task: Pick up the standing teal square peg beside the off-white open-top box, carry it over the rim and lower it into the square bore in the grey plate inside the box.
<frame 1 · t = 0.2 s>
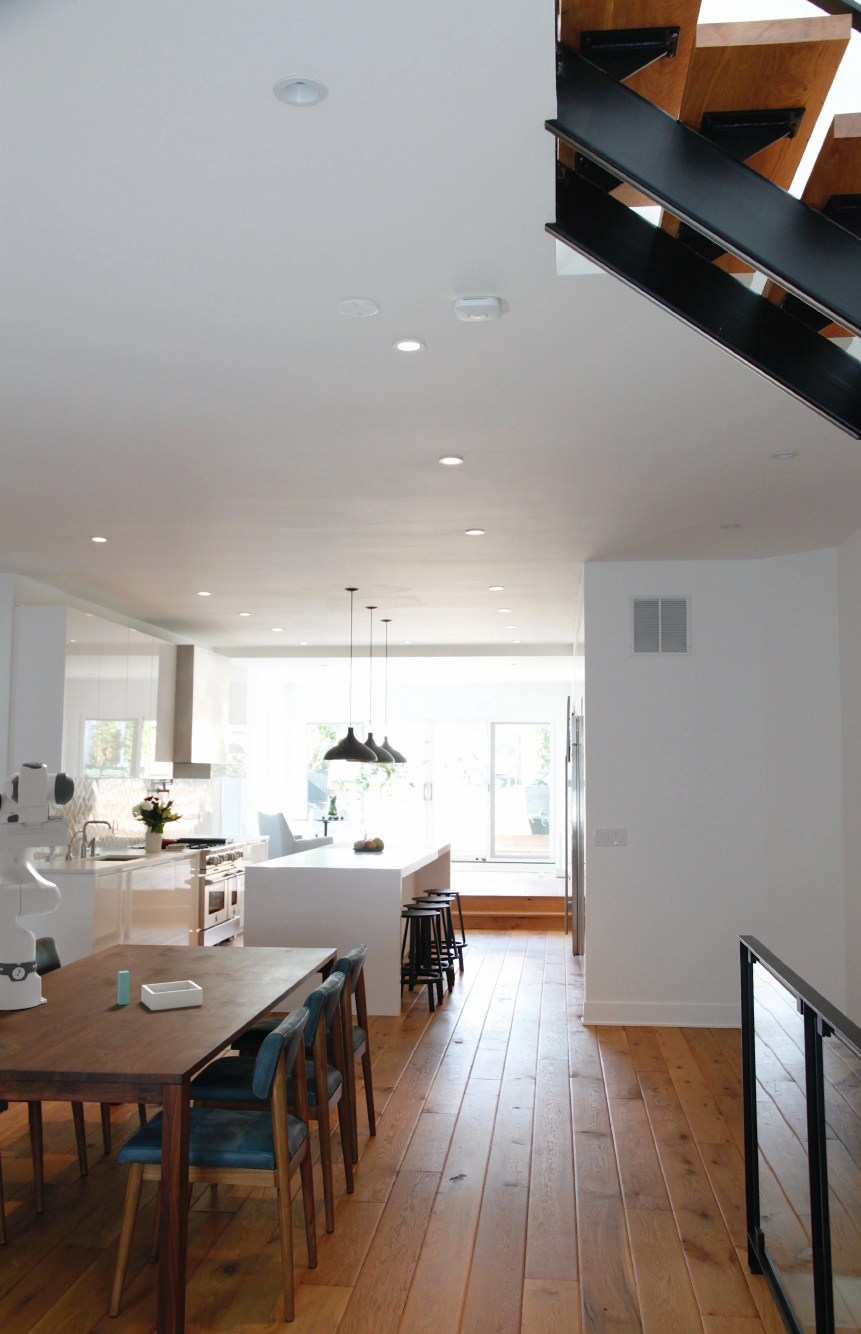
hand: (31, 862, 312), 47 cm above the table, tool pointing down, fingers open, 8 cm apart
box: (171, 1002, 334), on the table
peg: (123, 1003, 334), on the table
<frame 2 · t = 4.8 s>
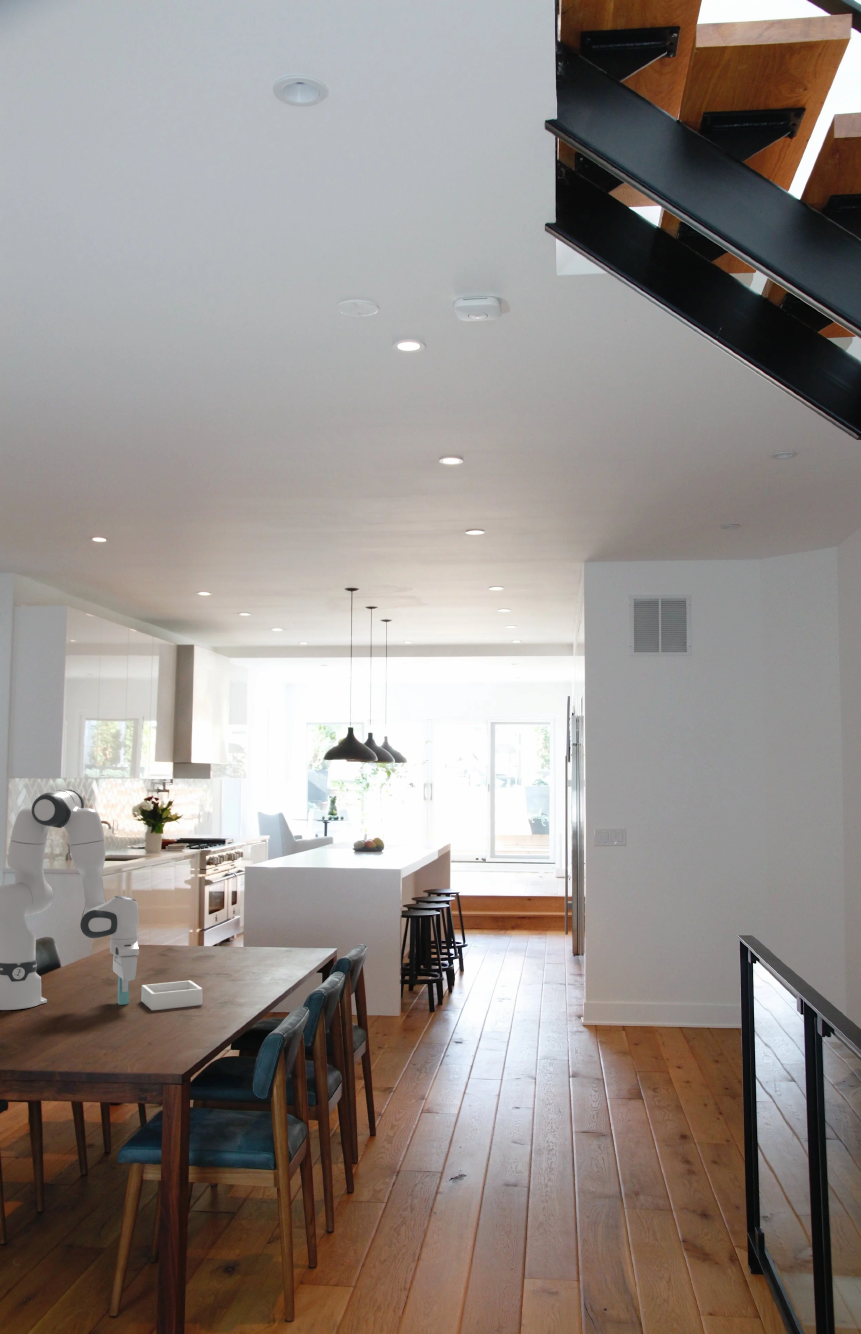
hand: (123, 990, 335), 4 cm above the table, tool pointing down, fingers closed on peg, 3 cm apart
peg: (123, 1003, 334), on the table, touching gripper
when the fingers open (6 cm above the table, at t = 9.5 s): peg drops 2 cm, resting in box.
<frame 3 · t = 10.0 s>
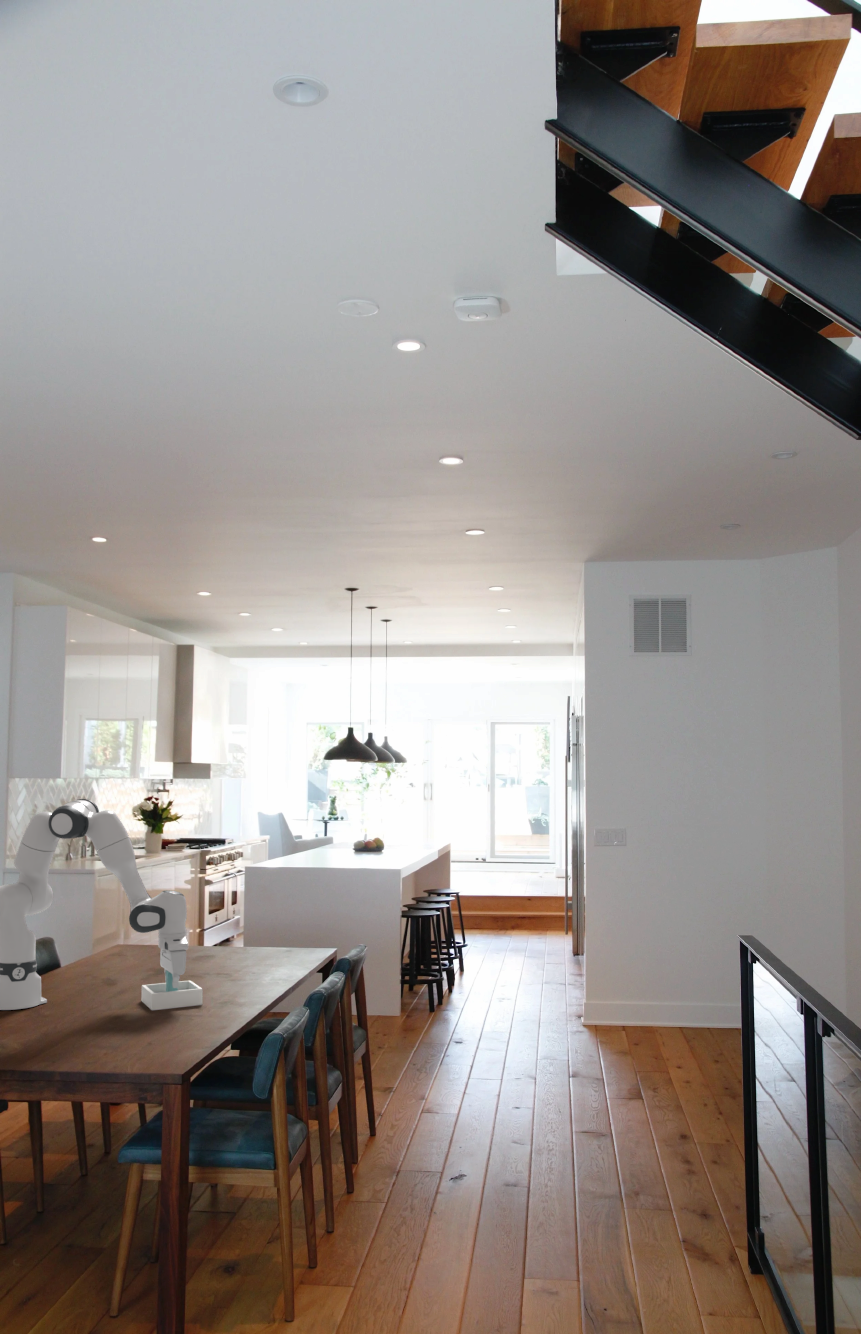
hand: (171, 985, 335), 6 cm above the table, tool pointing down, fingers open, 8 cm apart
peg: (171, 1003, 334), resting in box
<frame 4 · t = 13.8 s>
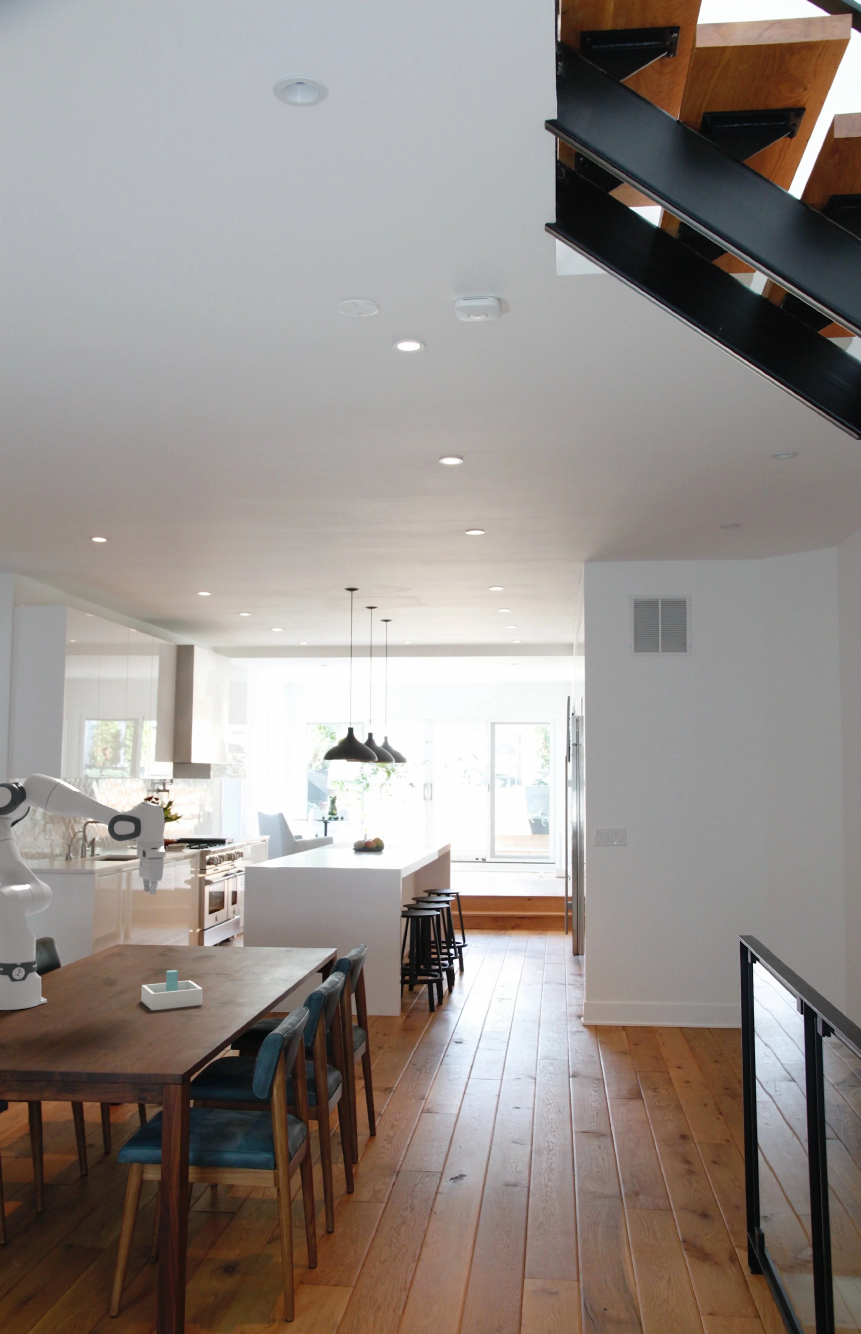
hand: (149, 893, 346), 34 cm above the table, tool pointing down, fingers open, 8 cm apart
nothing on the table moved.
at the end: peg 0.0 cm off-centre on the box, point 0.0 cm above the box's base; peg tilted 0°; the gripper is holding nothing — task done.
